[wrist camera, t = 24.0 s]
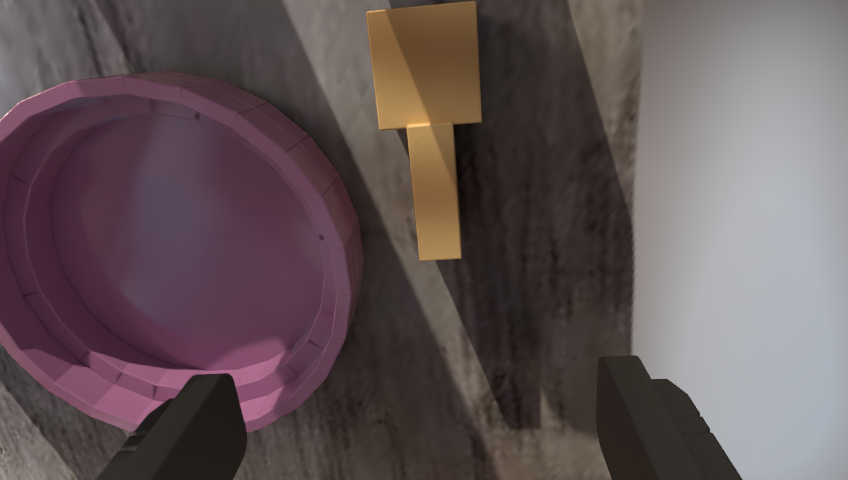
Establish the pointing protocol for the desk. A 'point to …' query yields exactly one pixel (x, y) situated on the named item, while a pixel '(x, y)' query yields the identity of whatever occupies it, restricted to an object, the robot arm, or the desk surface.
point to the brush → (428, 105)
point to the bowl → (171, 246)
